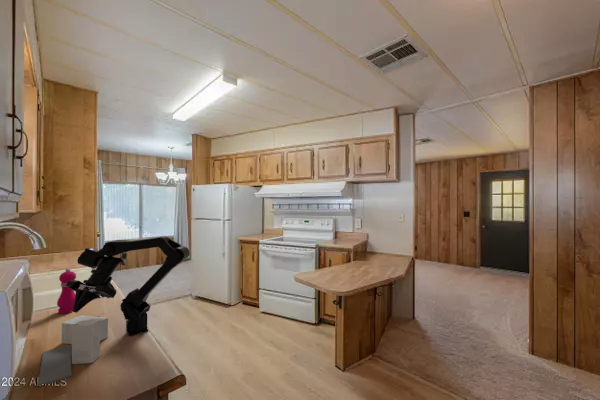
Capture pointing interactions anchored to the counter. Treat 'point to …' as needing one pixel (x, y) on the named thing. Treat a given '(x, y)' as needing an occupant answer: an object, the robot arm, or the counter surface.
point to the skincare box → (85, 342)
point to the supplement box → (67, 326)
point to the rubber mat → (55, 365)
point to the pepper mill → (66, 293)
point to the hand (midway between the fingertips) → (74, 312)
